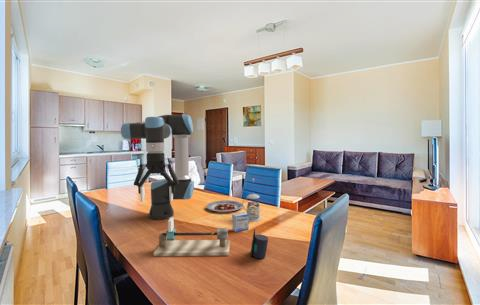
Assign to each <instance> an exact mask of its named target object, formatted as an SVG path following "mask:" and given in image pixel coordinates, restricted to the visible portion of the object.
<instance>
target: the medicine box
mask: <svg viewBox="0 0 480 305" xmlns="http://www.w3.org/2000/svg"><path fill="white" fill-rule="evenodd" d="M231 218H232V219H231V222H232V226H231V227H232V228H231V229H232V230H233V232H235V233H239V232H240V233H241V232H243V231H244V232H245V231H249V226H250V225H249V222H250V221H249V219H248V214H247V212H239V213H233V214H231Z"/></svg>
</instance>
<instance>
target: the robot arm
mask: <svg viewBox="0 0 480 305" xmlns="http://www.w3.org/2000/svg"><path fill="white" fill-rule="evenodd" d="M193 133H194V125H193V120H192V117H191V116H190V115H189V114H183V113H182V114H163V115H159V116H146V117H145V120H143V121H138V122H126V123H125V122H124V123H122V124H121V127H120V135H121V136H122V138H123V139H126V140H139V139H140V140H143V139H145V151H146V163H140V164H139V165H138V166H139V167H138V168H139V169H138V171H137V174H136V177H135V179H134V181H133V186H136V187H137V188H138V190H137V191H138V194H139V195H140V202H142V203H143V202H144V201H145V200H146V194H145V192H146V191H145V188H146V187H145V185H144V183H145V182H146V181H147V179H148V178H149V177H150V176H151V174H153V175H154V174H157V175H159V174H161V175H162V177H163V178H162V179H158V180H154V181H152V182H150V183H151V184H150V199H151V201H150V202H151V204H150V209H149V212H148V217H149V219H151V220H164V219H168V218H169V219H170V218H171V217H173V216H174V212H175V211H174V209H173V206H172V203H171V202H173V200H177V201H178V200H183V201H185V200H190V199H191V198H192V197H193V194H194V190H195V189H194V188H195V181H194V180H192V177H191V176H190V172H189V170H190V168H189V165H190V164H189V160H190V158H189V138H190V137H191V135H192V134H193ZM171 136H172V137H173V138H174V167H173V163H171V162H170V163H166V162H165V160H166V159H165V157H166V156H165V139H167V138H169V137H171ZM165 168H166V169H168V172H169V174H170V176H169V174H168V173H167V171H166V170H165ZM145 169H147V170H146V172H145V174H144V176H143V177H142V175H143V173H144V170H145Z"/></svg>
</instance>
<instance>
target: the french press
mask: <svg viewBox="0 0 480 305" xmlns="http://www.w3.org/2000/svg"><path fill="white" fill-rule="evenodd" d="M251 181H252V182H254V181H256V180H255V178H251ZM257 199H260V195H259V194H256V193H250V194H248V195H247V196H246V198H244V200H242V202H241V203H242V206H243V207H242V209H243V210H245V211H246V213H247V214H248V219H249V222H259V221H261V220H262V217H261V216H260V214H261V213H260V212H261V206H260V202H258V201H254V200H257ZM248 200H252V201H249V202H248ZM245 201H247V205H246V208H245V206H244V202H245Z"/></svg>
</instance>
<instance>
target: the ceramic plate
mask: <svg viewBox="0 0 480 305" xmlns="http://www.w3.org/2000/svg"><path fill="white" fill-rule="evenodd" d="M242 203H243V202H241V201H236V200H227V199H226V200H217V201H213V202H210V203H208V204H207V205H206V208H207V209H208V210H210V211H214V212H218V213H219V212H220V213H228V212H234V211H237V210H241V209H243V208H244V207H243V206H244V205H243V206H242Z"/></svg>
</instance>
